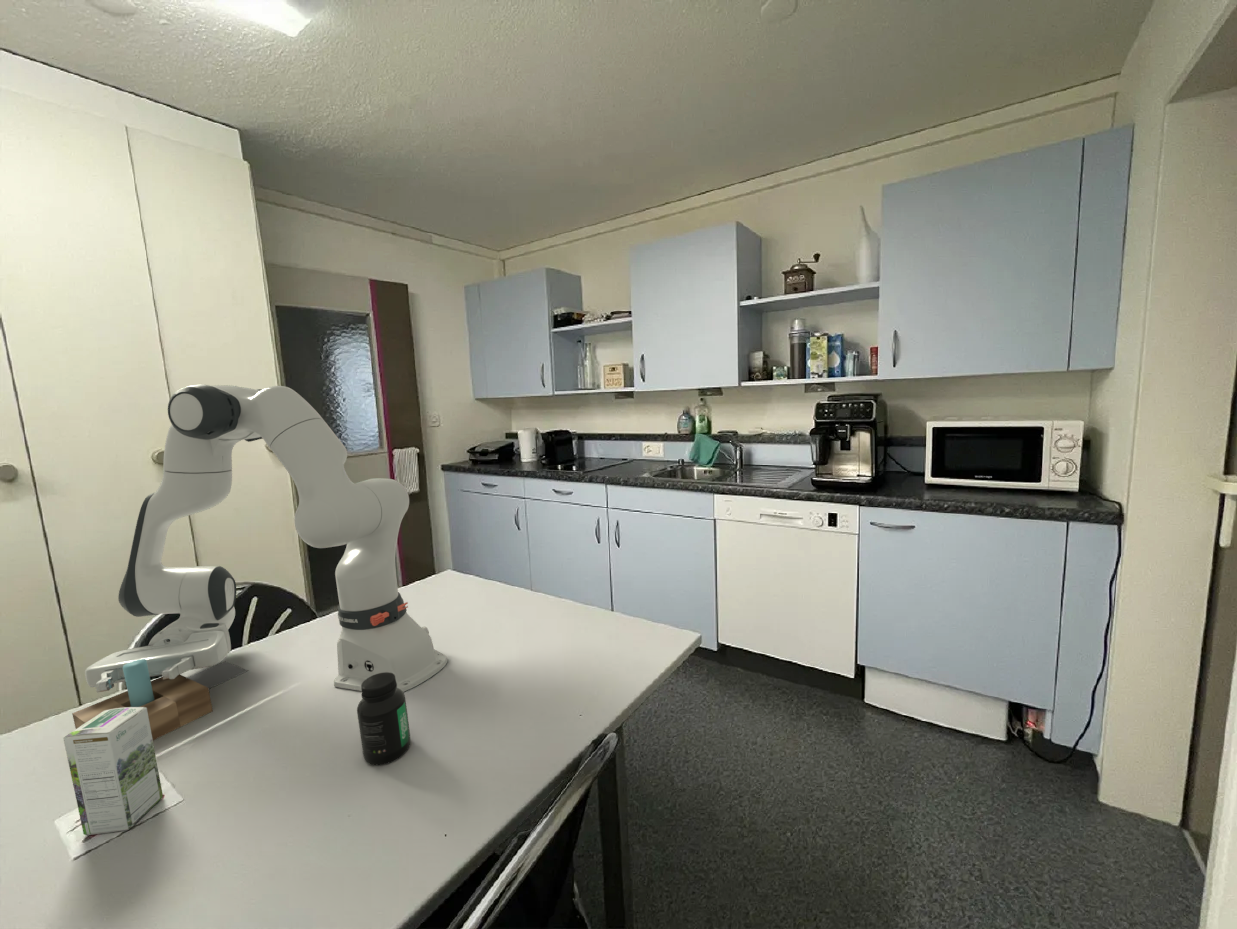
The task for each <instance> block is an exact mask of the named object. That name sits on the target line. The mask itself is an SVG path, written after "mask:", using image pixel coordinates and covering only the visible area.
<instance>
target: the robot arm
mask: <svg viewBox="0 0 1237 929" xmlns="http://www.w3.org/2000/svg"><path fill="white" fill-rule="evenodd" d="M167 416H168V420H169V422H170V423H171V424H170V426H169V427H168V431H167V434H166V440H165V445H164V450H163V451H164V452H163V461H162V462H163V463H162V464H163V470H162V473H163V474H162V478H161V483H160V485H159V486H158V488H157V489H156V491H155V492H153V493H150V494H148V495H147V496H146V497H145V499H144V500H143V502H142V504H141V506H140V509H139V513H138V516H137V520H136V524H135V528H134V534H133V539H132V544H131V550H130V554H129V558H128V564H127V568H126V571H125V575H124V577H123V580H122V582H121V584H120V587H119V590H118V596H117V597H118V603H119V604H120V606H121V607H122V609H124V611H126V612H127V613H129V614H131V616H133V617H136V618H138V617H142V618H143V617H149V616H158V615H164V614H169V615H170V614H179V615H180V616H179V618H177V619H176V620H174V621H173V622H171V623H169V624H168V625H167V626H166V627H164V628H162V630H160V631H158V632H157V633H156V634H155V635H154V636H152V638H151V639H150V640H149V643H148V645H145V646H139V647H133V648H128V649H122V650H118V651H115V652H113V653H110V654H109V655H107V656H104V657H102V658H100V659H99V660H97V661H96V662H94V663H92V664H91V665H89V666H87V667H86V668H85V670H84V676H85V681H86V683H87V685H88V687H90V688H95V691H96V693H103V692H107V691H110V690H111V689H113V688H114V687H115V684H119V683H124V682H125V683H126V681H125V676H124V672H123V666H124V665H125V664H127V663H130V662H132V661H135V660H140V659H146V661H147V666H148V671H149V676H150V678H152V677H158V676H159V677H160V676H161V677H163V680H170V679H174V678H176V677H177V676H178V675H182V674H185V673H186V672H189V671H191V670H197V669H205V668H210V667H213V666H215V665H217V664H220V663H222V662H223V661H224V659H225V658H226V657H227V656H228V655H229V654H230V653H231V651H232V644H231V637H230V632H229V629H230V628H231V626H232V624H233V622H234V619H235V616H236V609H235V604H236V599H237V582H236V579H235V578H234V577H233V576H232V574H231V573H230V572H229V571H228V570H227V569H226V568H225V567H223V566H220V565H219V566H218V565H217V566H210V565H207V566H205V565H204V566H203V565H201V566H175V567H174V566H170V567H169V566H165V565H164V564H163V563H162V559H163V554H164V548H165V544H166V539H167V533H168V530H169V527H170V526H171V525H172V524H173V523H174V522H175V521H177V520H179V519H182V518H184V517H188V516H192V515H195V514H198V513H202V512H204V511H207V510H210V509H211V508H214V507H216V506H218V505H219V504H221V503H222V502H224V501H225V499H226V498H227V497H228V496H229V494H230V492H231V489H232V484H233V460H232V458H233V457H232V455H233V454H232V453H233V449H234V447H235V445H236V444H237V443H239V442H241V441H245V442H248V443H251V442H253V441H259V440H263V441H264V443H266V445H267V446H268V447H269V449H270V450H271V452H273V454H274V455H275V456H276V458H277V460H278V461H279V462H280V463H281V465H282V467H284V469H285V470H286V472H288V474H289V476H290V477H291V479H292V480H293V483H294V485H295V487H296V490H297V494H298V500H299V501H298V502H299V503H298V505H297V509H296V511H295V514H294V518H293V519H294V527H295V530H296V533H297V535H298V536H299V538H300V539H301V540H302V541H303V542H304V543H305V544H307V545H308V546H310V547H313V548H317V549H326V548H327V549H328V548H332V547H339V546H344V545H345V546H346V548H345V550H344V553H343V555H342V556H341V559H340V560H339V561H338V564H337V565H336V568H335V572H334V575H335V576H334V577H335V582H336V588H337V589H336V591H337V596H338V602H339V604H338V606H337V616H338V617H337V618H338V622H339V625H340V626H341V631H340V634H339V638H338V640H337V642H336V646H337V647H336V651H337V652H336V653H337V672H338V674H337V675H336V677H335V678H334V680H333V686H334V688H335V687H336V688H340V689H347V690H353V691H360V692H362V690H361V685H362V683H363V681H365V680H366V679H367V678H369V677H370V676H373V675H375V674H379V673H384V672H389V673H393V674H394V675H395V678H396V683H397V688H399V689H401V690H402V691H403V692H406V691H408V690H409V691H410V690H411V689H413V688H415V687H417V686H418V685H420V684H422V683H424V682H425V681H427V680H429V679H430V678H431V677H433V676H434V675H436V674H437V673H439V672H440V671H441V670H442V669H443V668H444V667H445V666H446V665H447V663H448V661H449V658H448V656H447V655H446V654H444V653H442V652H440V651H438V650H436V649H435V648H434V645H433V644H434V643H433V639H432V637H431V635H430V631H429V629H428V627H427V626H421V625H420V624H419V623H418V622H416V620H414V618H413V617H411V616H410V615H409V613H408V612H407V608H409V606H408V604H409V602H408V601H406V602H405V601H404V599H403V597H402V594H401V593H400V592H399V588H398V580H397V569H396V568H397V567H396V552H397V550H396V549H397V544H398V537H399V532H400V528H401V523H402V521H403V518H404V517H405V514H406V513H407V512H408V509H409V505H410V496H409V493H408V491H407V489H406V487H405V486H404V485H403V484H402V483H401V482H399V481H398V480H397V479H392V478H384V477H383V478H382V477H381V478H378V477H377V478H376V477H375V478H369V479H366V480H361V481H359V482H353V481H352V480H351V479H350V477H349V475H348V473H347V472H346V469H345V463H346V462H347V459H348V458H347V457H348V451H347V448H346V446H345V445H344V444H343V442H342V441H341V440H340V438H339V437H338V436H337V435H336V434H335V432H334V431H333V430H332V429H331V427H330V426H329V425H328V423H327V422H326V421H325V419H324V418H323V417H322V416H321V414H319V413H318V411H317V409H315V408H314V407H313V406H312V405H311V404H310V403H309V402H308V401H307V400H306V399H305V397H302V395H300V394H299V393H298V392H296V390H294V389H292V388H290V387H288V386H284V385H274V386H269V387H266V388H263V389H261V388H260V389H258V388H256V389H254V388H249V387H242V386H237V385H230V384H229V385H228V384H227V385H221V384H220V385H219V384H217V385H216V384H215V385H210V384H202V383H201V384H194V385H193V384H192V385H188V386H184V387H181V388H179V389H177V390H176V391H175V392H174V393H172V395H171V397H170V398H169V401H168V404H167ZM406 605H407V606H406Z"/></svg>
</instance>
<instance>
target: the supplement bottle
mask: <svg viewBox="0 0 1237 929" xmlns="http://www.w3.org/2000/svg"><path fill="white" fill-rule="evenodd" d="M361 690H362V691H361V700H360V701H359V702H358V705H357V708H356V714H357V720H358V728H359V735H360V743H361V747H362V748H361V749H362V755H363V759H364V761H365V762H366V763H367V764H369V765H372V766H383V765H388V764H390V763H392V762H395V761H397V760H398V759H399V758H401V757H403V755H405V753H407V752H408V750H409V748H410V746H411V742H412V740H411V731H410V723H409V716H408V708H407V700H406V699H407V698H406V694H405V693H404V692H405V691H404V692H403V691H402V690H401V689H399V688H397V683H396V678H395V675H394V674H393V673H389V672H384V673H379V674H375V675H373V676H370V677H369V678H367V679H366V680H365V681H363V683H362V685H361Z"/></svg>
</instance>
